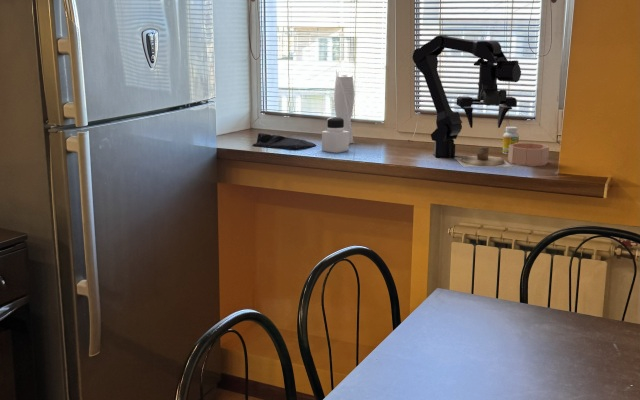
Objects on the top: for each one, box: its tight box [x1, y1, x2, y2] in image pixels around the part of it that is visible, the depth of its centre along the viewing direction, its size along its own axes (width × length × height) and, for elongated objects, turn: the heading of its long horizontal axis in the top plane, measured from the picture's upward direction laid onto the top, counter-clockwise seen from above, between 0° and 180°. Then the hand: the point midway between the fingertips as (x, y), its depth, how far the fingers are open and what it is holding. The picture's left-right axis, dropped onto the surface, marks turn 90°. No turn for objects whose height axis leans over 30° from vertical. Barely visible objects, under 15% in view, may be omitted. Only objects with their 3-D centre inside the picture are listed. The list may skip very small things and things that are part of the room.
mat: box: [454, 156, 514, 168], centre depth 255 cm, size 16×16×1 cm
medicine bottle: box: [321, 117, 350, 154], centre depth 276 cm, size 7×7×12 cm
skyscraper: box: [333, 69, 355, 145], centre depth 291 cm, size 8×8×28 cm
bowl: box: [507, 142, 550, 167], centre depth 254 cm, size 12×12×6 cm
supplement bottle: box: [502, 126, 520, 155], centre depth 271 cm, size 5×5×10 cm
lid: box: [461, 146, 505, 166], centre depth 254 cm, size 14×14×5 cm
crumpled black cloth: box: [252, 132, 317, 151], centre depth 287 cm, size 15×22×5 cm
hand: (485, 127), depth 252 cm, fingers open, 9 cm apart
